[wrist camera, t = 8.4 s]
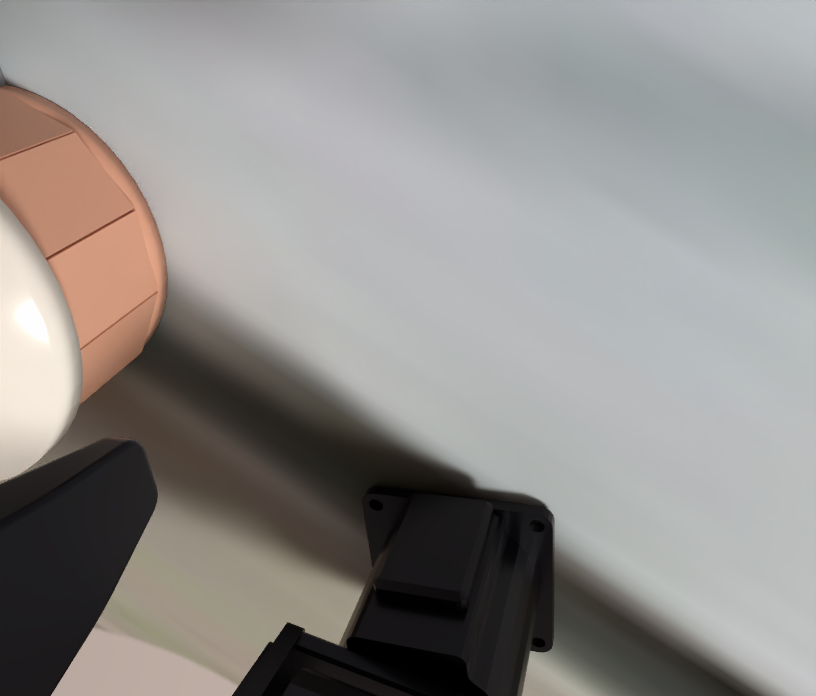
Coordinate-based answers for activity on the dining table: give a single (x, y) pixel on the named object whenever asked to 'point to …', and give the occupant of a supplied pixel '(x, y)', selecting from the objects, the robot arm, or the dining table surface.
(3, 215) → the lid
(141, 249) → the bowl
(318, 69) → the dining table surface
